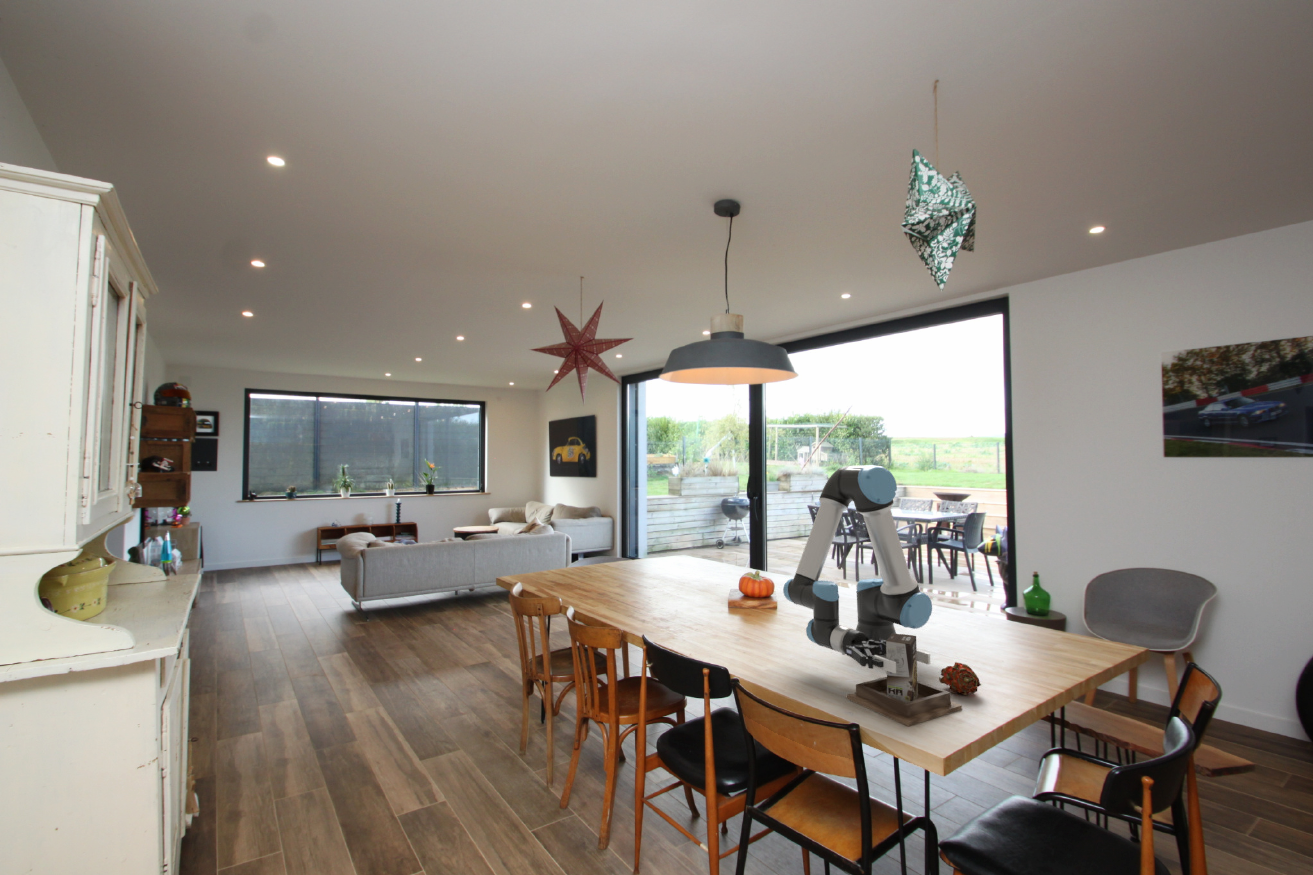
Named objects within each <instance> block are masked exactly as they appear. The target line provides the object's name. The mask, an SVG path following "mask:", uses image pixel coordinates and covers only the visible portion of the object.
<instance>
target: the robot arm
mask: <svg viewBox="0 0 1313 875" xmlns="http://www.w3.org/2000/svg"><path fill="white" fill-rule="evenodd" d="M897 487H898V485H897V480H896V478H895V476H894V475H893V473H892V472H891V471H890V470H889V469H887V468H885V467H884V466H879V465H875V464H868V465H850V464H849V465H844V466H841V467H839V468H838V469H837V470H835V471H833V473H832V474H831V476H830V477H829V478H828V479H827V481H826V483H825V485H824V486H823V488H822V490H821V494H820V496H819V502H820V504H819V508H818V511H817V513H816V516H815V519H814V521H813V524H812V526H811V530H810V533H809V535H808V538H807V541H806V543H805V546H804V548H803V551H802V554H801V557H800V560H799V563H798V565H797V569H796V572H795V574H794V576H793V578H791V579H788V580H786V582H785V583H784V586H783V591H782V593H783V596H784V598H785V599H786V600H788V601H789V602H791V603H793V604H794V605H798V606H802V607H805V608H808V609H810V610H812V611H813V612H812V613H813V618H811V619H810V620H809V621H808V622H807V627H806V629H805V632H806V636H807V638H808V639H809V640H810V641H811V642H812V643H814V644H816V645H818V646H820V647H823V648H827V649H830V650H833V651H835V652H838V653H840V654H841V655H843V656H845V655H846V656H847V657H849V658H850V657H851V658H852V659H853V660H854V661H856V662H857V663H858V664H859V665H860V666H861V667H867V668H868V669H870V670H871V669H872V670H873V669H874V667H876V668H878V669H881V670H884V671H886V672H887V671H889V672H892V673H896V662H894V661H891V660H888V659H886V657H883V656H885V655H886V640H887V639H888V638H889V637H890V636H891V634H892V633H894V634H897V631H896V627H895V624H896V625H899V626H902V627H904V628H909V629H912V630H915V629H916V630H917V629H920V628H923V626H925V625H926V624H927V623H928V622H929V620H930V617H931V616H932V613H933V612H932V611H933V604H932V600H931V598H930V596H929V595H927V594H926V593H925V592H921V590H920V586H919V583H918V581H917V580H916V579H914V578H913V577H911V574H910V571H909V566H908V563H907V560H906V556H905V553H904V550H903V547H902V543H901V540H900V537H899V534H898V530H897V526H896V523H895V520H894V517H893V516H894V515H893V512H892V510H891V508H892V507H893V505H894V504H895V503H894V499H895V497H896V495H897V493H896V491H897V489H898V488H897ZM851 502H854V508H855V511H856V512H857V513H858V514H860V515H862V516H863V520H864V523H865V526H866V529H867V532H868V535H869V539H870V543H871V546H872V550H873V553H874V556H875V560H876V563H877V566H878V570H879V572H880V576H881V578H868V579H867V578H866V579H861V580H859V581H857V583H856V612H857V624H856V628H855V629H853V628H851V627H847V626H844V625H841V624H840V609H839V608H840V595H839V585H838V584H837V583H836V582H834V581H833V580H832V581H831V580H830V581H829V580H820V578H821V574H822V571H823V569H824V566H825V563H826V560H827V557H828V556H829V552H830V550H831V546H832V544H833V542H834V538H835V534H836V533H837V530H838V527H839V524H840V521H841V519H842V516H843V513H844V512H846V511H848V508H849V506H850V504H851ZM917 662H919V663H922V664H924V665H931V654H930V653H928V652H926V651H922V650H919V649H917ZM867 665H868V666H867Z"/></svg>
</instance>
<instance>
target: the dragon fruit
mask: <svg viewBox="0 0 1313 875" xmlns="http://www.w3.org/2000/svg"><path fill="white" fill-rule="evenodd" d="M938 673H940V675H941V676H942V677H938V679H939V680H938V681H939V683H940V684H944V685H946V686H949V688H948V689H949V691H950V693H959V694H960V695H963V696H969V695H970V694H975V693H977V692H978V688H979V687H980V686H982V683H980V678H979V676H977V673H975V672H974V670H973V669H972V668H971V667H970V666H969V665H968V664H965V663H962V662H957V661H955V662H954V664H953V665H952V666H951V665H949V666H948V665H947V666H946V667H945V668H942V669H941V670H940V671H939V672H938Z"/></svg>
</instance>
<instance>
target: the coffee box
mask: <svg viewBox="0 0 1313 875" xmlns="http://www.w3.org/2000/svg"><path fill="white" fill-rule="evenodd" d="M917 650H918V649H917V635H914V634H904V633H903V634H902V633H896V634H894V633H892V634H891V636H890V637H889V638H888V639H887V640H886V654H885V655H886V657H885V659H888V660H891V661H894V662H896V673H892V672H889V671H886V677H887V695H888V696H891V697H893V698H895V699H898V700H900V701H903V702H905V703H907V702H910V701H914V700H916V699H917V697H918V681H919V680H918V661H917Z"/></svg>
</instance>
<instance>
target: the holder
mask: <svg viewBox="0 0 1313 875" xmlns="http://www.w3.org/2000/svg"><path fill="white" fill-rule="evenodd" d="M951 694H952V693H951V691H950V692H949V691H947V690H944V689H942V688H940V687H936V686H933V685H931V684H928V683H926V682H923V681H920V680H918V697H917V699H916V700H914V701H910V702H907V703H905V702H903V701H900V700H898V699H895V698H893V697H891V696H888V695H887V676H884V677H880V678H876V679H873V680H868V681H865V682H860V683H856V684H855V692H852V693H849V694H846V695H845V696H846V699H847V700H848V701H851V702H854V703H855V704H858V705H860V706H862V707H865V708H867V709H869V710H871V711H873V712H875V713H878V714H880V715H882V716H884V717H887V718H888V719H891V720H893V721H894V722H898V723H899V724H902V725H903V726H906V727H911V726H914V725H918V724H920V723H923V722H926V721H930V720H933V719H936V718H938V717H942V716H945V715H949V714H951V713H954V712H959V711H961V710H963V705H962V704H960V703H959V704H958V703H956V702H954V701H951V700H952V699H951V698H952V697H951Z"/></svg>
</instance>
